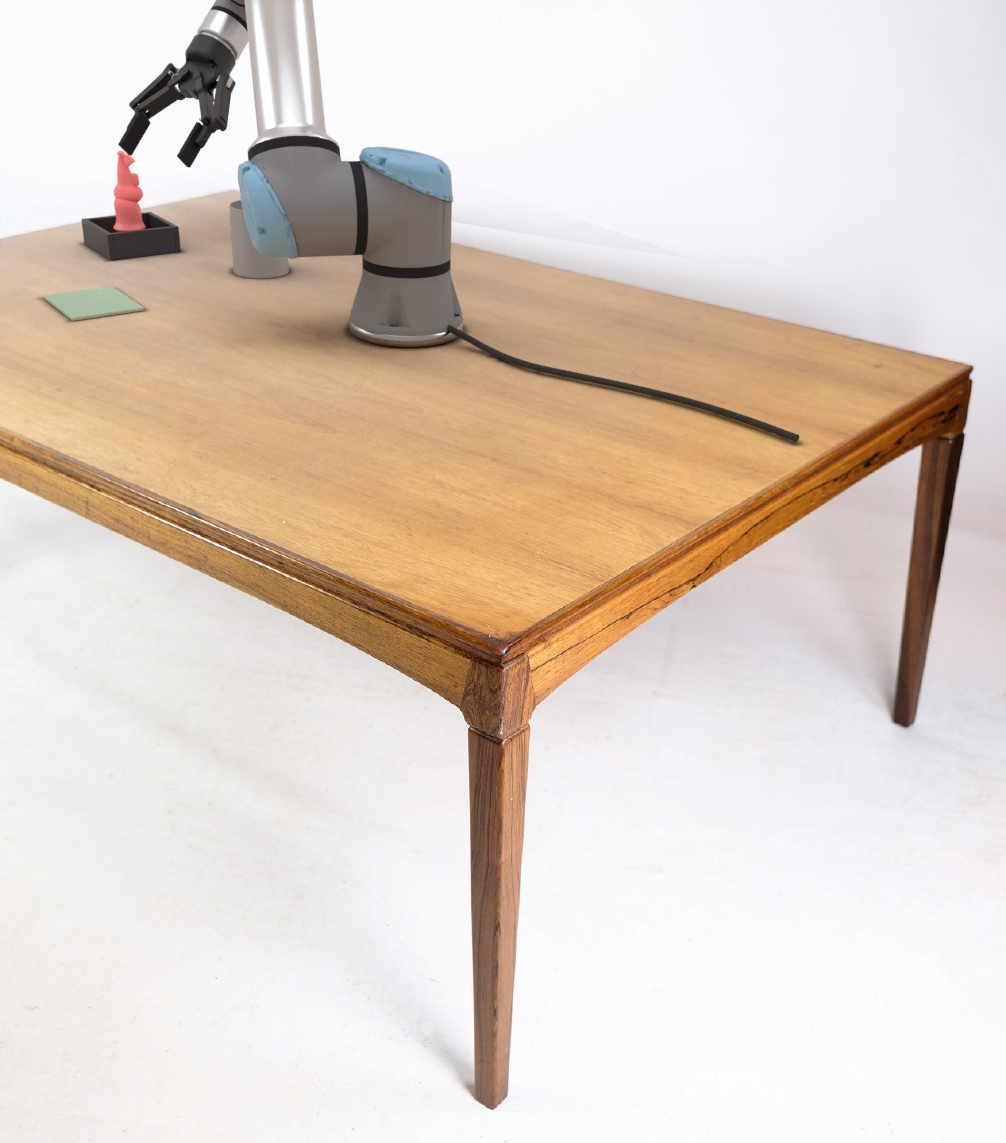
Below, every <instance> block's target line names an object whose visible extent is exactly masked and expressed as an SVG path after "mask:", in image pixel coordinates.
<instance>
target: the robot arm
mask: <svg viewBox="0 0 1006 1143" xmlns="http://www.w3.org/2000/svg"><path fill="white" fill-rule="evenodd" d="M314 10H315V8H314V0H215V1H214V3H213V4H212V7H211V8H210V10H208V12H207V13H206V16H204V18H203V21H202V22H201V23H200V25H199V27H198V29H197V31H196V34H195V35H194V37H193V38H192V40H191V41H190V43H189V45H188V46H187V48H186V50H185V52H184V55H185V63H184V64H183V65H182V66H181V67H180V68H178V67H176V65H174V63H172V62H169V63H167V65H166V66H165V68H163V70H162V72H161V73H160V74H159V75H158V76H156V78H155V79H154V80H153V81H151V83H150V84H149V83H148V85H147V86H146V87H145V88H144V89H142V91H140V92H139V94H137V96H135V97H134V98H133V99H132V100H131V101H130V102H129V103H128V104H129V105H128V106H129V108H130V109H131V110H132V111H133V112H134V113H133V116H132V117H131V119H130V120H129V122H128V124H127V126H126V130H125V131H124V134H123V135H122V137H121V138H120V140H119V141H118V143H117V145H118V147H120V148H121V150H122V151H123V152H124V153H125V154H127V155H129V156H131V157H132V155H133V154H134V152H135V151H136V149H137V147H138V146H139V144H140V142H141V141H142V139H143V137H144V135H145V134H146V132H147V131H148V130H149V127H150V125H151V121H150V119H151V118H153V117H155V116H156V115H158V114H159V113H160V112H162V111H164V110H165V109H166V108H168V107H169V106H171V105H173V104H174V103H175V102H178V101H183V100H185V99H195V100H196V101H198V104H199V112H200V118H198V120H199V122H198V121H196V122H195V124H194V125H193V127H192V129H191V131H190V132H189V134H188V136H187V138H186V140H184V142H183V144H182V146H181V148H180V150H179V151H178V153H177V154H176V157H177V158H178V159H179V160H180V161H181V163H182V164H183V165H184V166H185V167H186V168H191V167H192V165H193V164H194V162H195V160H196V158H197V157H198V155H199V153H200V152H201V150H202V149H203V148H204V147H206V146H207V145H206V144H207V143H208V141H209V139H210V138H211V136H212V134H215V133H216V132H217V131H220V132H225V131H226V130H227V129H228V123H229V116H230V107H231V99H232V93H233V90H234V89H235V86H236V81H235V79H233V78H232V76H231V73H232V71H233V70H234V68H235V67H236V64H237V62H236V61H238V60H239V59H240V57H241V55H242V53H243V52H244V50H245V49H246V46H247V45H248V49H249V59H250V69H251V79H252V90H253V99H254V100H253V101H254V110H255V118H256V119H255V120H256V129H257V137H256V138H255V140H254V141H253V142H252V143H251V144H250V146H249V147H248V149H247V160H246V161H243V162H241V163H239V165H238V167H237V183H238V188H239V194H240V197H239V198H240V200H241V203H242V208H243V213H244V217H245V222H246V226H247V229H248V233H249V236H250V239H251V241H252V244H253V246H254V248H255V249H256V250H257V251H258V252H259V253H260V254H261V255H263V256H266V257H288V259H291V260H296V259H297V258H315V257H316V258H318V257H343V256H361V257H362V259H361V260H362V271H361V272H362V273H361V277H360V280H359V283H358V288H357V290H356V292H355V296H354V300H353V303H352V306H351V309H350V313H349V331H350V333H351V334H352V335H353V336H355V337H356V338H358V339H360V340H362V341H365V342H367V343H372V344H375V345H381V346H388V347H401V348H403V347H404V348H415V347H416V348H417V347H429V346H436V345H443V344H445V343H448V342H451V341H454V340H456V339H458V338H460V339H462V340H464V341H465V342H466V343H469V344H471V345H472V346H474V347H476V348H478V349H479V350H481V351H483V352H485V353H486V354H490V355H491V356H493V357H495V358H498V359H500V360H501V361H504V362H507V363H510V364H512V365H515V366H519V367H521V368H525V369H527V370H531V371H536V372H539V373H543V374H548V375H554V376H558V377H562V378H569V379H573V380H578V381H581V382H587V383H592V384H596V385H602V386H606V387H611V388H615V389H619V390H625V391H628V392H629V391H630V392H633V393H638V394H642V395H647V396H651V397H655V398H658V399H663V400H668V401H671V402H676V403H679V404H682V405H686V406H690V407H692V408H697V409H700V410H704V411H706V412H709V413H713V414H716V415H719V416H721V417H726V418H728V419H732V420H735V421H737V422H740V423H742V424H746V425H749V426H751V427H754V428H757V429H760V430H763V431H766V432H769V433H771V434H774V435H776V436H779V437H782V438H783V439H786V440H789V441H792V442H795V443H797V442H799V440H800V434H797V433H796V432H795V433H794V432H792V431H789V430H786V429H784V428H781V427H778V426H776V425H773V424H771V423H769V422H768V423H767V422H766V421H762V420H759V419H756V418H754V417H750V416H748V415H745V414H742V413H738V412H736V411H733V410H730V409H727V408H723V407H720V406H718V405H714V404H711V403H707V402H703V401H701V400H696V399H694V398H690V397H686V396H682V395H679V394H675V393H672V392H667V391H663V390H660V389H659V390H658V389H655V388H651V387H646V386H641V385H637V384H634V383H633V384H632V383H629V382H624V381H620V380H616V379H615V380H614V379H610V378H605V377H600V376H595V375H591V374H586V373H581V372H577V371H572V370H565V369H561V368H556V367H552V366H547V365H542V364H538V363H535V362H530V361H527V360H524V359H521V358H518V357H515V356H512V355H509V354H507V353H505V352H503V351H500V350H498V349H496V348H494V347H491V346H490V345H488V344H485V343H484V342H482V341H480V340H479V339H477V338H475V337H473V336H472V335H470V334H468V333H466V332H464V316H463V311H462V308H461V305H460V301H459V298H458V295H457V292H456V288H455V285H454V282H453V278H452V274H451V273H452V272H451V267H452V266H451V264H452V262H451V261H452V260H451V258H452V214H453V211H452V210H453V207H452V206H453V202H454V196H453V183H452V172H451V169H450V167H449V166H448V164H447V163H446V162H445V161H444V160H442V159H440V158H438V157H436V156H433V155H430V154H427V153H424V152H420V151H415V150H410V149H404V148H398V147H390V146H389V147H388V146H366V147H364V148H362V149H361V151H360V154H359V155H358V158H359V160H342V158H341V150H340V145H339V143H338V142H337V141H336V139H333V137H331V136H330V135H329V134H328V133H327V130H326V119H325V109H324V99H323V91H322V89H323V88H322V80H321V79H322V78H321V70H320V60H319V51H318V50H319V49H318V41H317V40H318V39H317V31H316V30H317V28H316V20H315V12H314Z"/></svg>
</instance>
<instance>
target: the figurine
mask: <svg viewBox="0 0 1006 1143" xmlns="http://www.w3.org/2000/svg"><path fill="white" fill-rule="evenodd" d="M116 155H117V157H118V158H117V163H116V164H117V166H116V178H117V180H116V181H117V182H116V185H115V187H114V188H113V196H114V198H115V199H114V201H113V209H114V211H115V212H114V213H115V215H116V223H115V225H114V227H113V228H114V229H115V230H117V232H125V231H134V230H143V229H145V228H146V227H145V225H144V223H143V220H142V214H141V213H142V210H141V206H140V204H139V202H140V201H141V200H142V199H143V196H144V192H143V191H144V190H142V188H141V187H140V178H139V174H138V173H136V172H132V171H131V169H130V166H132V164H133V163H136V160H135V159H134V157H132V156H130V155H128V154H127V153H126V152H125V151H124V150H118V151H117V153H116Z"/></svg>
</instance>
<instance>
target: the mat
mask: <svg viewBox="0 0 1006 1143" xmlns="http://www.w3.org/2000/svg"><path fill="white" fill-rule="evenodd" d="M42 297H43V299H44V300H45V301H46V302H48V303H49V304H50V305H52V306H53V307H54V308H55V309H56V310H58V311H59V312H60V313H63V315H64V316H66V317H67V318H68V319H70V320H71V321H72V322H75V321H81V320H89V319H94V318H101V317H109V316H115V315H123V314H130V313H136V312H137V313H138V312H144V311H145V307H144V306H142V305H140V304H139V303H137V302H136V301H135V300H133V299H132V298H131V297H129V296H127V295H126V294H125V293H123V292H121V291H120V290H119V289H117V288H116V287H114V286H106V287H105V286H104V287H97V288H91V289H83V290H75V291H68V292H61V293H53V294H45V295H43V296H42Z"/></svg>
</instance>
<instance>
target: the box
mask: <svg viewBox="0 0 1006 1143" xmlns="http://www.w3.org/2000/svg"><path fill="white" fill-rule="evenodd" d="M141 214H142V220H143V223H144V225H145V227H146V228H145V229H143V230H134V231H125V232H117V230H115V229H114V228H113V227H114V225H115V223H116V214H114V215H108V216H106V215H105V216H98V217H88V218H81V227H82V235H83V236H82V237H83V243H84V244H83V245H85V246H86V247H88V248H90V249H91V250H93V251H95V252H96V253H98V254H100V255H101V256H102V257H104V258H105V259H107V260H108V261H115V260H124V259H132V258H141V257H149V256H157V255H165V254H173V253H181V238H180V228H179V226H178V225H176V224H174V223H173V222H170V221H169V220H167V219H166V218H163V217H161V216H160V215H157V214H156V213H154V212H152V211H144V212H141Z"/></svg>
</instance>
